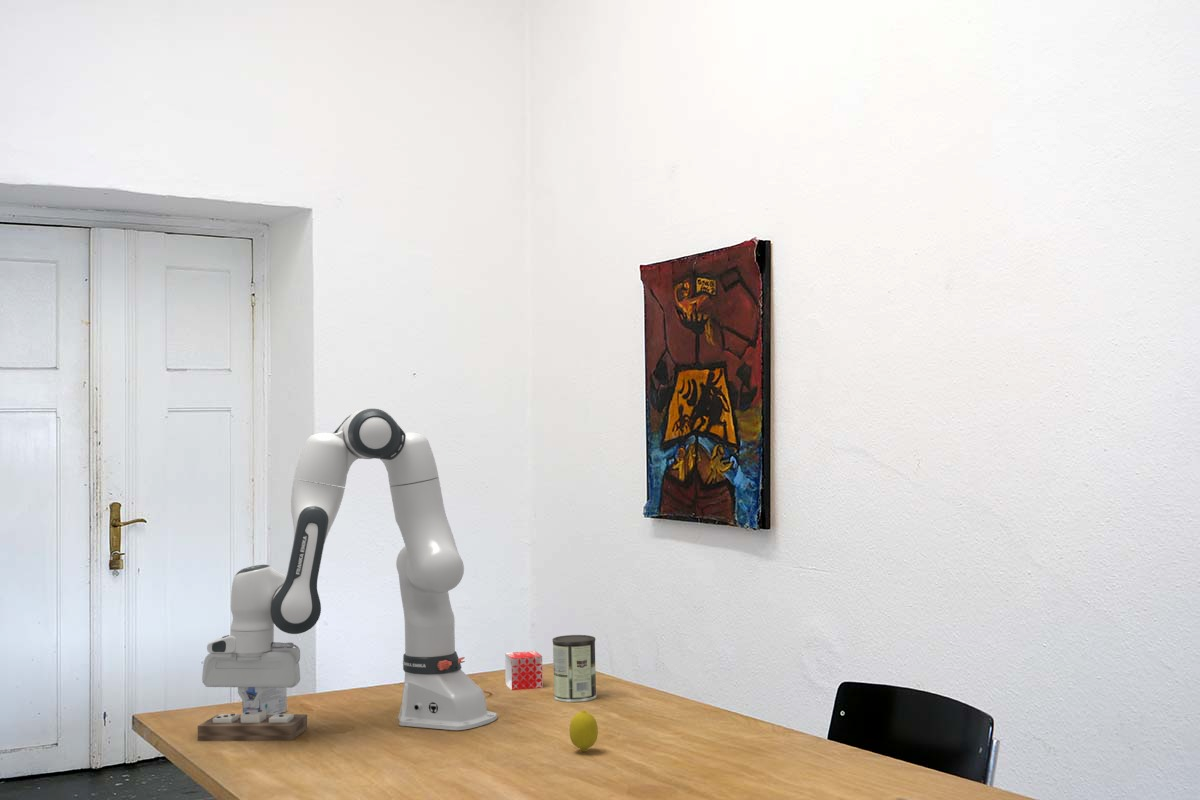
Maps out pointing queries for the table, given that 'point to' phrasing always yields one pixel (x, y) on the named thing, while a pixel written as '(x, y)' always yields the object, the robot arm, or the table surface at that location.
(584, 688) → the coffee can
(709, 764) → the table surface
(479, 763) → the table surface
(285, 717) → the button one
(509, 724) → the table surface
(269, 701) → the ink cartridge box
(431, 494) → the robot arm
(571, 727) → the lemon
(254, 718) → the button two
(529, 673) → the red and white cube
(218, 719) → the button three
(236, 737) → the button panel
